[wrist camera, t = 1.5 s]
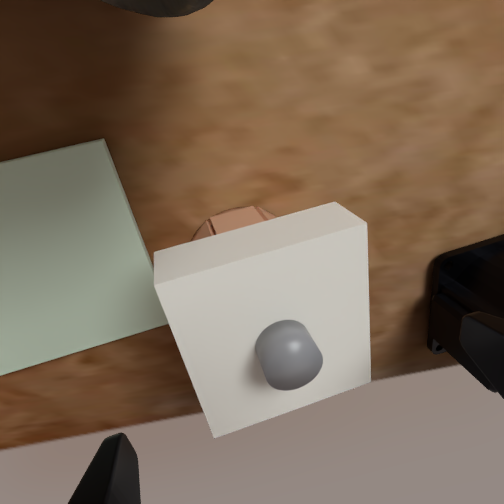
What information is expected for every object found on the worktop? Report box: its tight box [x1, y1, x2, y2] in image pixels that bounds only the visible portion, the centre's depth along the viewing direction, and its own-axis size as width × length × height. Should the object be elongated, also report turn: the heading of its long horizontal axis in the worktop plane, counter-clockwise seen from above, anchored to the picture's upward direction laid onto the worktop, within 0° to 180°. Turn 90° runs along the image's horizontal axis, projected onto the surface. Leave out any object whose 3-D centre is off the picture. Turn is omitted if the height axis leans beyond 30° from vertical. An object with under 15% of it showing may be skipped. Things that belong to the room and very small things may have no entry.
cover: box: [154, 202, 371, 439], centre depth 10 cm, size 6×6×3 cm
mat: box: [0, 138, 169, 376], centre depth 12 cm, size 7×8×1 cm
